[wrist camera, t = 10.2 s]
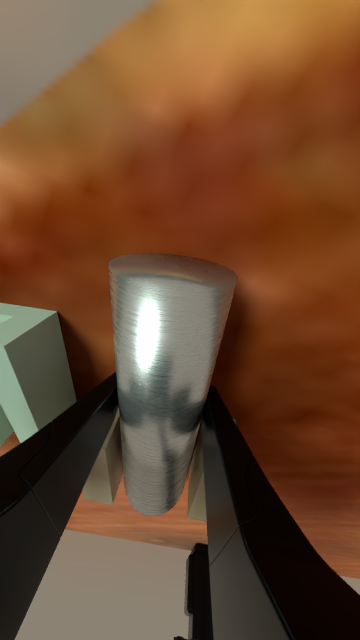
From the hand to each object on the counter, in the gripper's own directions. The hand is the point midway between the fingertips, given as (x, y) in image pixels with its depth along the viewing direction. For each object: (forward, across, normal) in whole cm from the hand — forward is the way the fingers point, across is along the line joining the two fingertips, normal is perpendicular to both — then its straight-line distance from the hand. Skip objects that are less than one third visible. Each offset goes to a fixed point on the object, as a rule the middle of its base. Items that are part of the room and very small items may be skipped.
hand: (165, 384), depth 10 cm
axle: (+1, 0, +1) cm, 2 cm away
